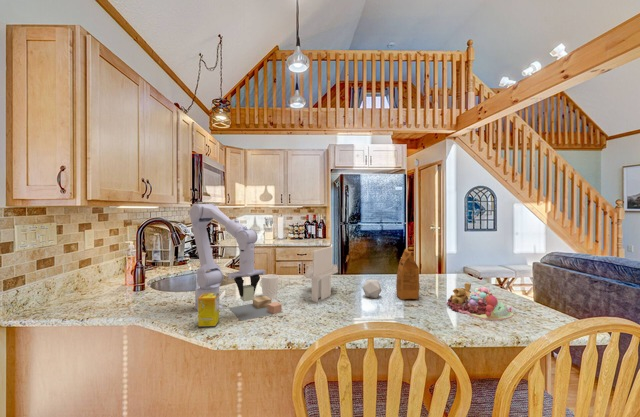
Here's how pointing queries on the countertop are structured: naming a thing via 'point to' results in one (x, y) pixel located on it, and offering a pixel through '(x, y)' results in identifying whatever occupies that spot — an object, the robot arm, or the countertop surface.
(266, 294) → the white cup
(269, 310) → the block
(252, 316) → the mat
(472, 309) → the dessert platter
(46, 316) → the countertop surface
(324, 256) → the upright slab stand
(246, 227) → the robot arm
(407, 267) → the coffee package
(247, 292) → the sage block
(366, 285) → the die
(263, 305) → the base block
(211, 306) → the supplement box
